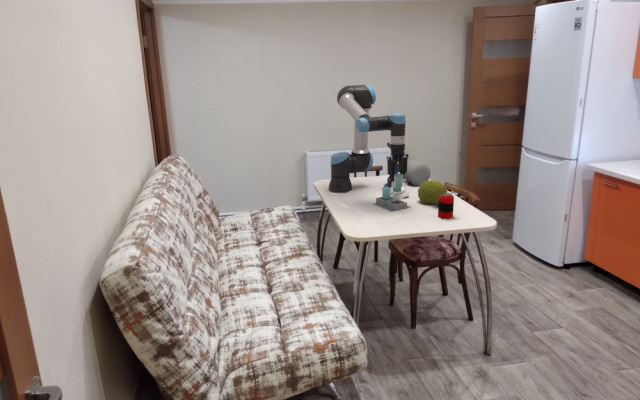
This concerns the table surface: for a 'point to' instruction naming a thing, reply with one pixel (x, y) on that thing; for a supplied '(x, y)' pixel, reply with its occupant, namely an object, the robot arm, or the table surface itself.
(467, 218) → the table surface
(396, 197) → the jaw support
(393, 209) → the housing
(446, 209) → the soda can
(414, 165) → the grey rounded lump
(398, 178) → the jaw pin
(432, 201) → the fruit
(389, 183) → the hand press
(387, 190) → the jaw pin
